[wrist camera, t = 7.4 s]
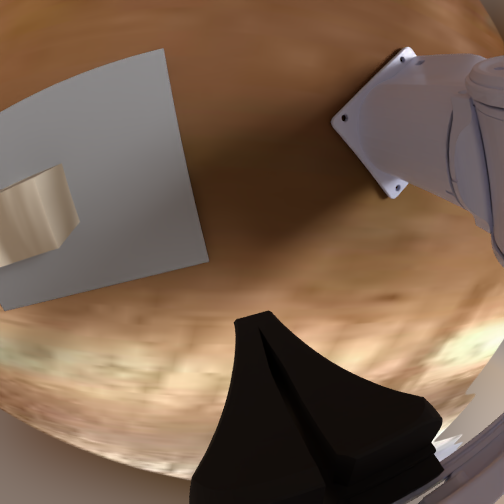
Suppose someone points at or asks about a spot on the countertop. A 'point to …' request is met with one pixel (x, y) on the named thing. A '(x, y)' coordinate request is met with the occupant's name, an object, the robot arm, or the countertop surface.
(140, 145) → the rubber mat
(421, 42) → the countertop surface
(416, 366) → the countertop surface
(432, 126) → the robot arm
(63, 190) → the birch block
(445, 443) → the countertop surface
